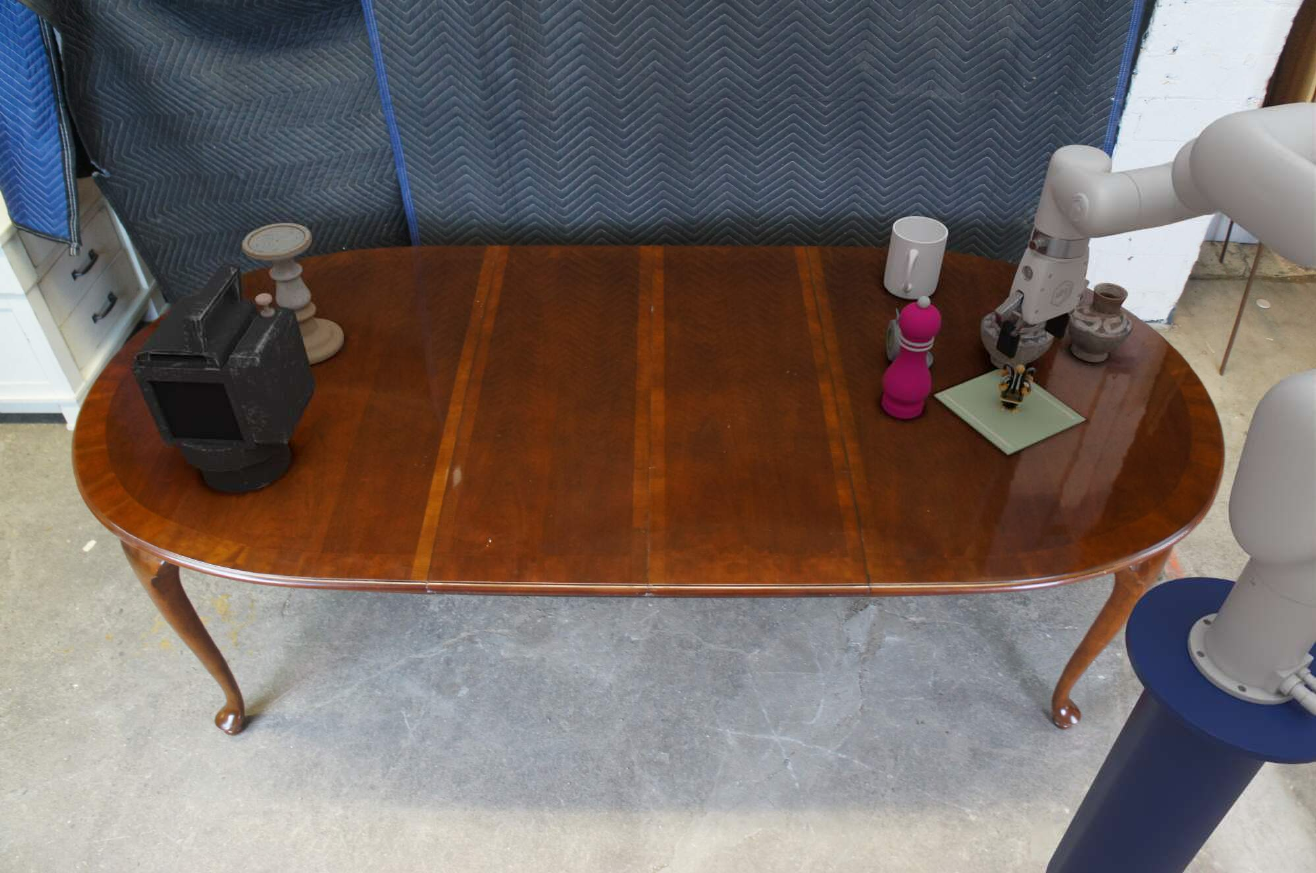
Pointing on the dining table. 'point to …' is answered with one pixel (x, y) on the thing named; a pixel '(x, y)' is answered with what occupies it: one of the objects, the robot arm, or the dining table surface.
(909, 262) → the mug
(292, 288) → the candle holder
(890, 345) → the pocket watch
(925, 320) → the pepper mill
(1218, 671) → the robot arm
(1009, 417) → the napkin
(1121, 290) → the pottery
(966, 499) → the dining table surface
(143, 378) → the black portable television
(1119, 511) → the dining table surface
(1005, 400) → the figurine
